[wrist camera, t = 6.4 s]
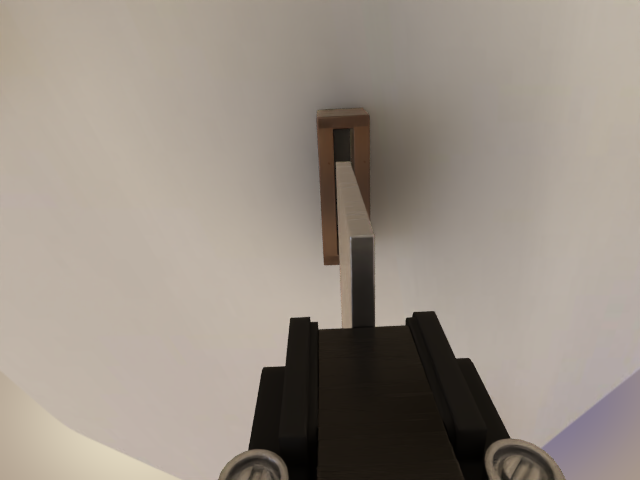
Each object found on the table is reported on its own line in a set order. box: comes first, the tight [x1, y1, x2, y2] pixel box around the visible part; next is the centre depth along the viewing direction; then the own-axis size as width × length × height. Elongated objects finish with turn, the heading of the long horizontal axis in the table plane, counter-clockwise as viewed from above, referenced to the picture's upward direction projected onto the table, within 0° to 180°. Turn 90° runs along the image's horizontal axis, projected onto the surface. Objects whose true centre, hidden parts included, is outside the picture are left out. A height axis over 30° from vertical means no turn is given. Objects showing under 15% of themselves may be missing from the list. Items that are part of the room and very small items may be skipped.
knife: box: [316, 161, 465, 480], centre depth 13 cm, size 8×2×13 cm, turn 3°
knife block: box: [317, 108, 370, 265], centre depth 30 cm, size 10×3×4 cm, turn 3°
